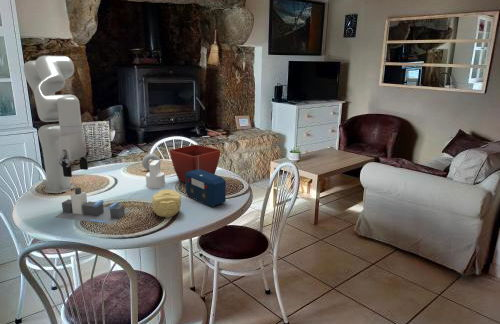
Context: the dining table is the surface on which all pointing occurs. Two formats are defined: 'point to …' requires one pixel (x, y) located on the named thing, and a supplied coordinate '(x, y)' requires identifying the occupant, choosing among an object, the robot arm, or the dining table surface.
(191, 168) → the plant pot
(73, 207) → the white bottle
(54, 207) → the dining table surface
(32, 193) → the dining table surface
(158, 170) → the cylinder with rectangular tab
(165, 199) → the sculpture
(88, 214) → the grey toy block board
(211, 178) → the radio
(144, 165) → the donut
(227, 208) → the dining table surface
